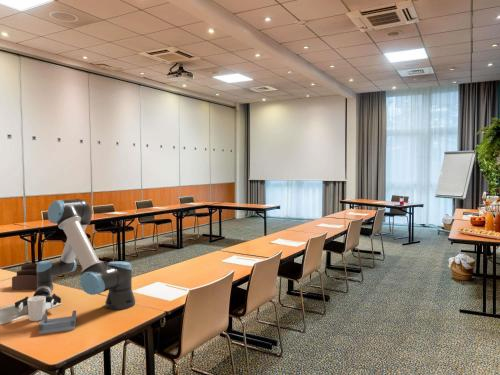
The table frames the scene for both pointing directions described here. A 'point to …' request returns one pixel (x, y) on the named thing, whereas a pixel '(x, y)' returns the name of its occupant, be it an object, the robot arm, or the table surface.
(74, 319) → the dock
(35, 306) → the white cup
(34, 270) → the letter holder
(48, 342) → the table surface
